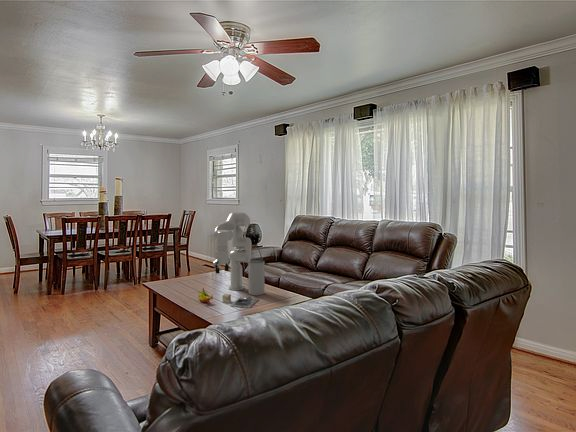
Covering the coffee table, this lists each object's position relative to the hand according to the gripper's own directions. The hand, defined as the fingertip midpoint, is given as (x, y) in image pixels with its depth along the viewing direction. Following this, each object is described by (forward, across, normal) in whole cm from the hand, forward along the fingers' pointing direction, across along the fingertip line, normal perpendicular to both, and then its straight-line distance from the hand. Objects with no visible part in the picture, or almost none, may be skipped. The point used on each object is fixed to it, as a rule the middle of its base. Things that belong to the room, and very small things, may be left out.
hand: (222, 272), depth 266 cm
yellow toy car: (+22, +5, -13) cm, 27 cm away
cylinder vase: (+22, -33, +6) cm, 40 cm away
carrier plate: (+22, -9, +14) cm, 28 cm away
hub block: (+22, -4, +1) cm, 23 cm away
